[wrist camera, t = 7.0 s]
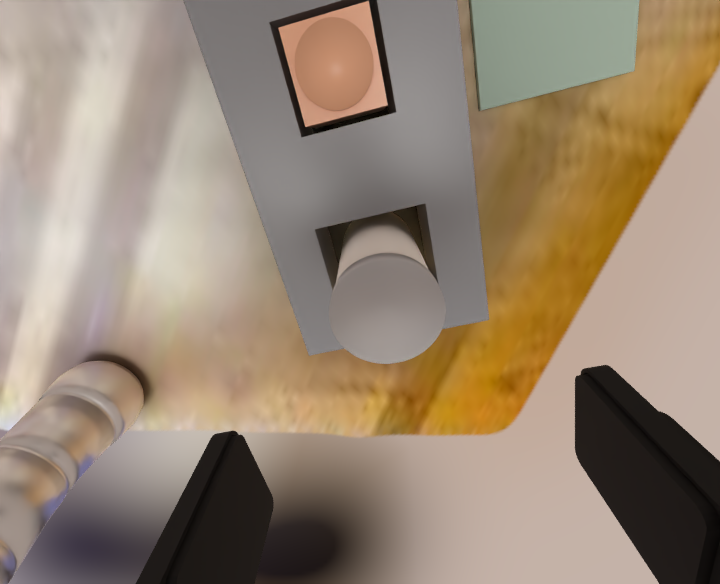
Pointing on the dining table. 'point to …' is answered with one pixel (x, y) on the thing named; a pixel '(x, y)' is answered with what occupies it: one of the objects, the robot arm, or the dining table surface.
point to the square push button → (335, 65)
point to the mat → (549, 45)
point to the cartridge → (384, 293)
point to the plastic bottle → (59, 449)
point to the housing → (351, 147)
